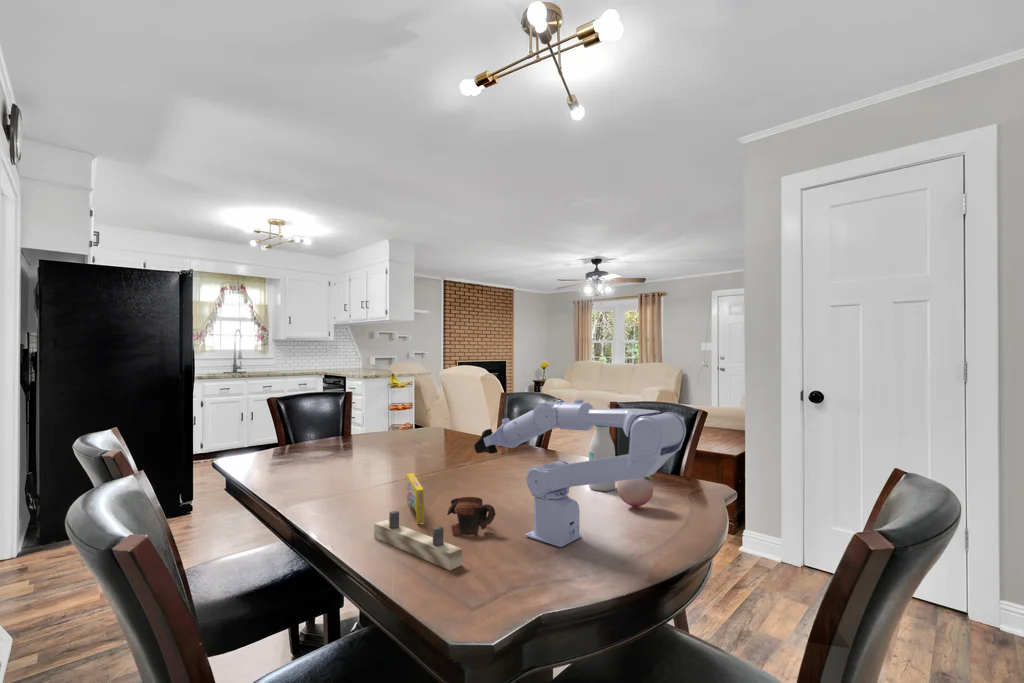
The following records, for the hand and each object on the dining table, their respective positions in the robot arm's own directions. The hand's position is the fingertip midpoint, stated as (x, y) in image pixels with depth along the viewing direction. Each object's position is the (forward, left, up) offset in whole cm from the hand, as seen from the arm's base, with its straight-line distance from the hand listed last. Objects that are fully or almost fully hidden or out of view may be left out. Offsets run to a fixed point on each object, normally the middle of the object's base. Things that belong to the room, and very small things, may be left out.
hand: (487, 445), depth 118 cm
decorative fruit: (-25, -28, -17) cm, 42 cm away
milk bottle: (-9, -39, -17) cm, 44 cm away
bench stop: (-4, +26, -17) cm, 31 cm away
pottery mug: (-4, +10, -17) cm, 20 cm away
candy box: (+14, +12, -17) cm, 25 cm away
